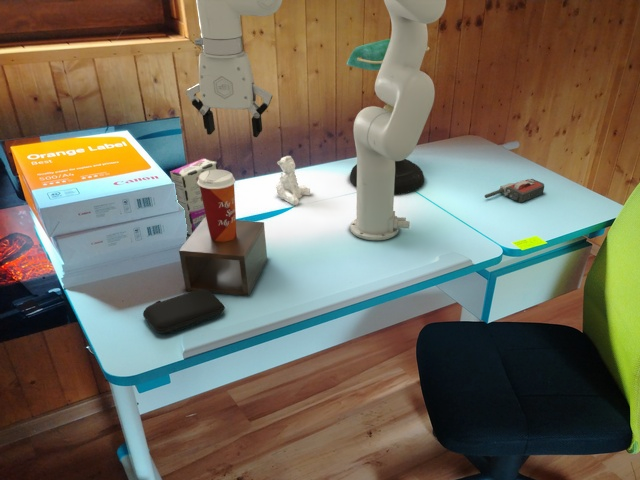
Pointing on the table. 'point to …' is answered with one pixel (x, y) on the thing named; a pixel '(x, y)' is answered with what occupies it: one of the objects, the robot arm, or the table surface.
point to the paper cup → (219, 203)
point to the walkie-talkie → (520, 190)
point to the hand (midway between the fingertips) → (234, 133)
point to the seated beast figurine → (290, 182)
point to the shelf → (224, 259)
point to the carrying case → (183, 311)
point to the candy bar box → (191, 191)
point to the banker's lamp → (371, 59)
